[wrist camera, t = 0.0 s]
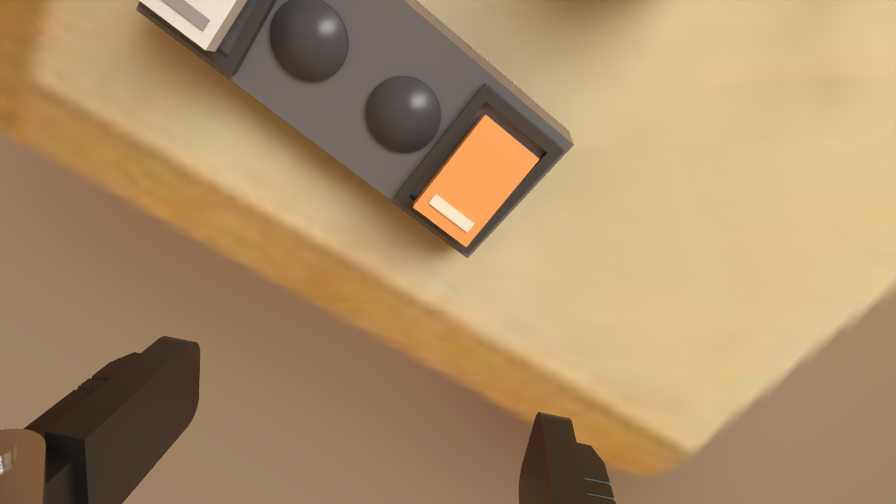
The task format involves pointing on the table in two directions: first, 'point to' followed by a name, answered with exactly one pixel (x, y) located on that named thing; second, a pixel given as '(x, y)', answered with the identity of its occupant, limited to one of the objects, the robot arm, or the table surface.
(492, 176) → the rocker orange
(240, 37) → the rocker switch panel
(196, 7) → the rocker white
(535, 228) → the table surface
